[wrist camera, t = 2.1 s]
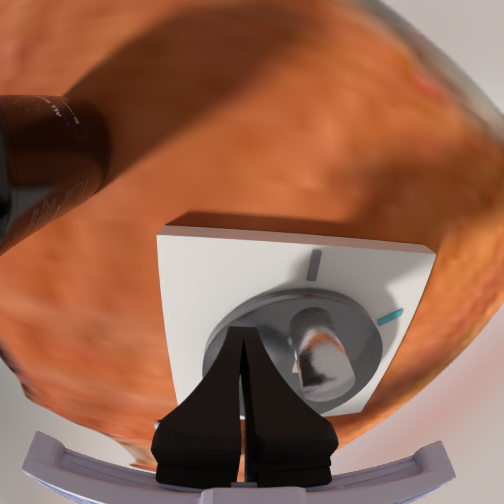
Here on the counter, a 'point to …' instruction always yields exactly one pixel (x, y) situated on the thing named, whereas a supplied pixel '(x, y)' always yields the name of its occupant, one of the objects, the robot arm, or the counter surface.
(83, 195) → the supplement bottle
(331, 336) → the dial
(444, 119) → the counter surface
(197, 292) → the dial plate
